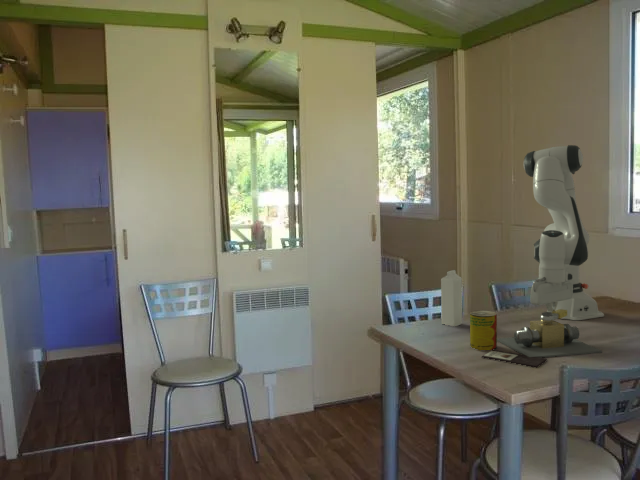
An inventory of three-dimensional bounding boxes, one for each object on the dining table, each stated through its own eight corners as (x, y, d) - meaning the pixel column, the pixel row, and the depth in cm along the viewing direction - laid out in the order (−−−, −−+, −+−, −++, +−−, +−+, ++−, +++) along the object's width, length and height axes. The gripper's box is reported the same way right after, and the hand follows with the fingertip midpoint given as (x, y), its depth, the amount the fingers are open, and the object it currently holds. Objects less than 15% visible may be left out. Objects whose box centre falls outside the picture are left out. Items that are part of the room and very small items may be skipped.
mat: (561, 334, 214) (561, 333, 214) (601, 352, 192) (601, 350, 192) (496, 340, 210) (496, 338, 210) (529, 358, 188) (529, 357, 187)
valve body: (568, 338, 207) (569, 318, 206) (582, 345, 199) (582, 323, 198) (511, 343, 203) (511, 322, 202) (523, 350, 195) (523, 328, 194)
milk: (462, 324, 235) (462, 270, 233) (453, 326, 231) (453, 272, 229) (449, 321, 239) (449, 268, 237) (441, 324, 235) (440, 270, 233)
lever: (549, 323, 197) (549, 314, 197) (538, 321, 200) (538, 312, 200) (568, 315, 208) (568, 307, 207) (557, 314, 210) (557, 305, 210)
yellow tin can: (491, 352, 196) (491, 317, 195) (466, 348, 202) (465, 314, 200) (500, 345, 203) (500, 312, 202) (476, 342, 209) (476, 309, 207)
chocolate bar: (536, 366, 179) (481, 356, 190) (536, 369, 179) (481, 359, 190) (546, 358, 185) (493, 349, 197) (546, 361, 185) (493, 352, 197)
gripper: (541, 280, 198) (541, 320, 199) (576, 274, 209) (575, 312, 211) (525, 278, 203) (525, 317, 205) (560, 272, 215) (560, 309, 216)
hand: (551, 314), depth 208 cm, fingers closed
